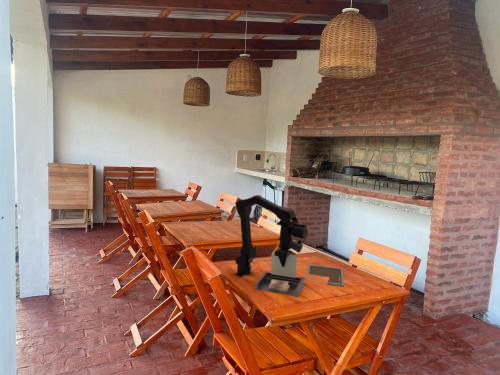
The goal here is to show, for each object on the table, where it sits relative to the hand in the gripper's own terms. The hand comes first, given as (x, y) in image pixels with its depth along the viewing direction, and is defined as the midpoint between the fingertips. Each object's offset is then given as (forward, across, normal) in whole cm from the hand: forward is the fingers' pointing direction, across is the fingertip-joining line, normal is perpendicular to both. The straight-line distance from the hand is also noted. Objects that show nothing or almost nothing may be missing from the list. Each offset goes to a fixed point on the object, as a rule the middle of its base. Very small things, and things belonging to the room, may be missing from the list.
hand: (283, 266), depth 193 cm
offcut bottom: (+9, -7, 0) cm, 11 cm away
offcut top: (+7, -7, 0) cm, 10 cm away
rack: (+10, -4, 0) cm, 11 cm away
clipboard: (+11, +26, -18) cm, 33 cm away
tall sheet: (+5, 0, 0) cm, 5 cm away
